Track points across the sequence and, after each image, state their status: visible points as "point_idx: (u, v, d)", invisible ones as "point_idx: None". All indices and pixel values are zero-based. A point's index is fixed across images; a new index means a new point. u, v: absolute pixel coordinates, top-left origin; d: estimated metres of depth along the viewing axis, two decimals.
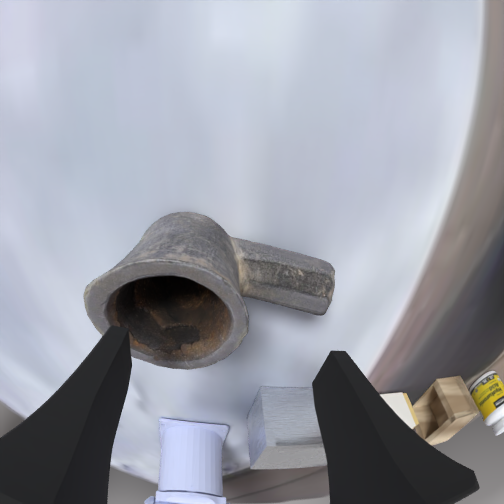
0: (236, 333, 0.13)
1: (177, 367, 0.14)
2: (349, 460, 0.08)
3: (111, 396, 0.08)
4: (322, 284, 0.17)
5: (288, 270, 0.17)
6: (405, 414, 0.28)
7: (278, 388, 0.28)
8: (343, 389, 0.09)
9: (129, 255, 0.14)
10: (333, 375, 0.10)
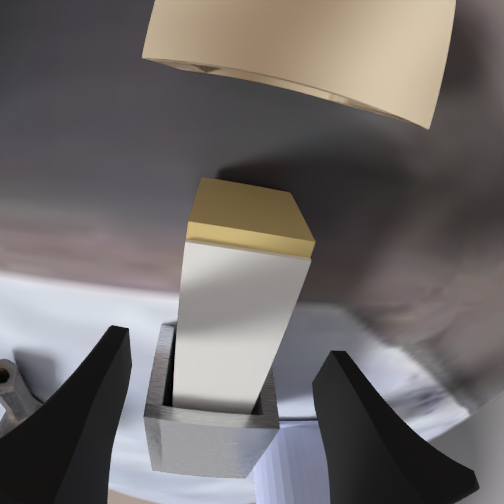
0: None
1: None
2: (349, 460, 0.08)
3: (111, 397, 0.08)
4: None
5: None
6: None
7: None
8: (343, 389, 0.09)
9: None
10: (333, 375, 0.10)
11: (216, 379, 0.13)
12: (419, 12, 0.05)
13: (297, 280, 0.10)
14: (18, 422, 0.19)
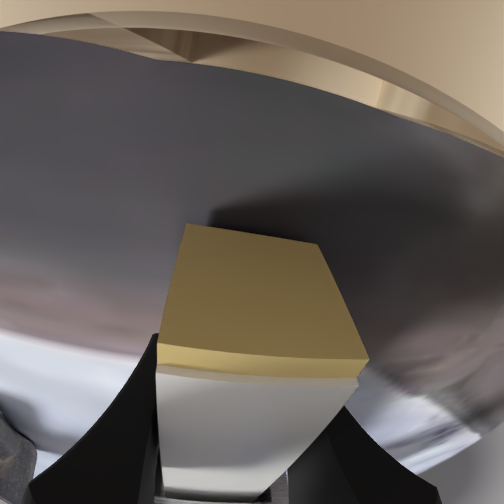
0: None
1: None
2: (304, 465, 0.07)
3: None
4: None
5: None
6: None
7: None
8: None
9: None
10: None
11: (215, 481, 0.09)
12: None
13: (334, 406, 0.06)
14: (3, 461, 0.14)
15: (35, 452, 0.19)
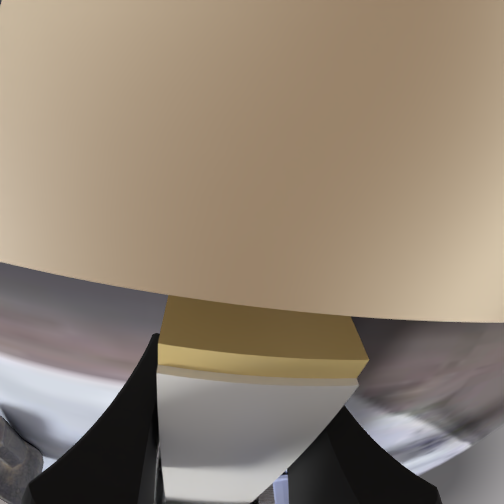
0: None
1: None
2: (304, 465, 0.07)
3: None
4: None
5: None
6: None
7: None
8: None
9: None
10: None
11: (216, 481, 0.09)
12: None
13: (334, 406, 0.06)
14: (12, 469, 0.15)
15: (41, 459, 0.20)
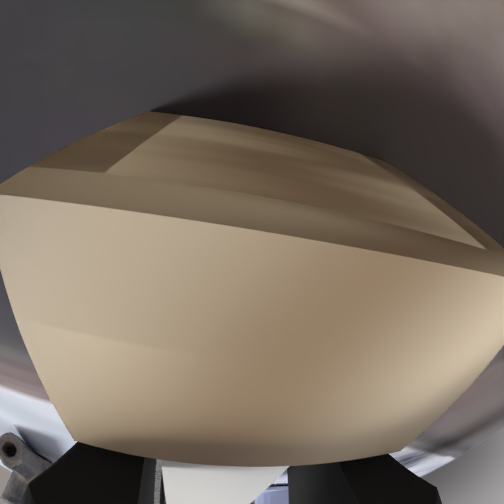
0: None
1: None
2: (304, 465, 0.07)
3: None
4: None
5: None
6: None
7: None
8: None
9: None
10: None
11: (215, 481, 0.09)
12: (445, 377, 0.04)
13: None
14: (27, 481, 0.17)
15: None
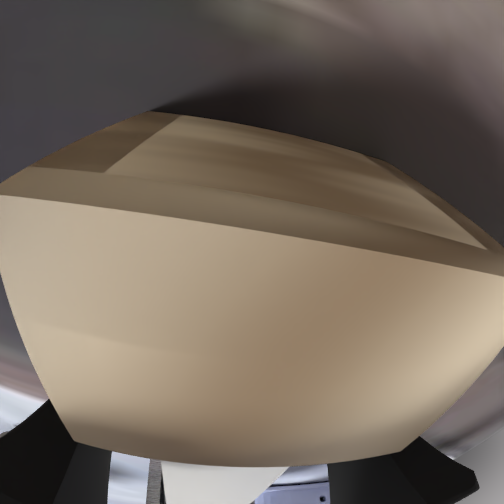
0: None
1: None
2: None
3: None
4: None
5: None
6: None
7: None
8: None
9: None
10: None
11: (215, 481, 0.09)
12: (446, 378, 0.04)
13: None
14: None
15: None
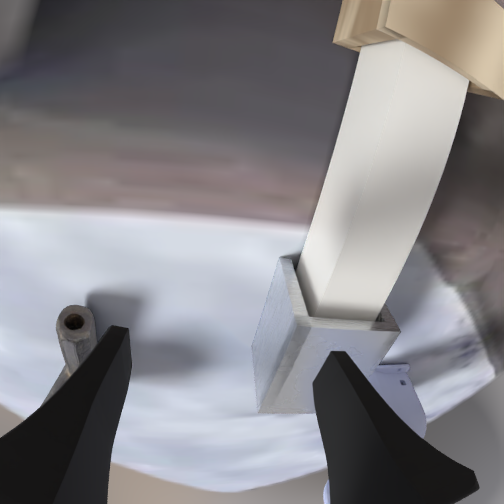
0: None
1: None
2: (349, 460, 0.08)
3: (111, 397, 0.08)
4: (58, 337, 0.19)
5: (61, 350, 0.20)
6: None
7: (256, 333, 0.24)
8: (343, 389, 0.09)
9: None
10: (333, 375, 0.10)
11: (408, 166, 0.12)
12: (499, 37, 0.08)
13: None
14: None
15: None
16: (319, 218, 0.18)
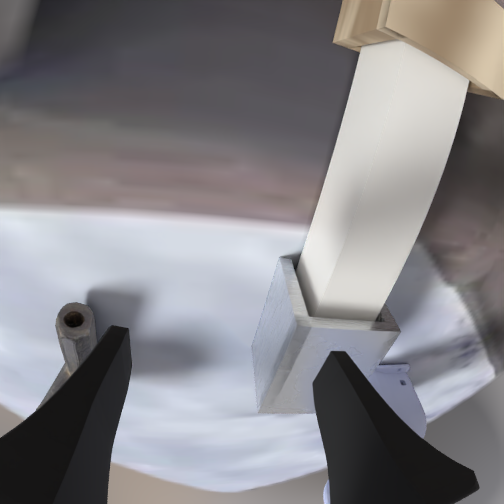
0: None
1: None
2: (349, 460, 0.08)
3: (111, 397, 0.08)
4: (58, 335, 0.19)
5: (61, 348, 0.20)
6: None
7: (256, 333, 0.24)
8: (343, 389, 0.09)
9: None
10: (333, 375, 0.10)
11: (408, 166, 0.12)
12: (499, 37, 0.08)
13: None
14: None
15: None
16: (319, 218, 0.18)
